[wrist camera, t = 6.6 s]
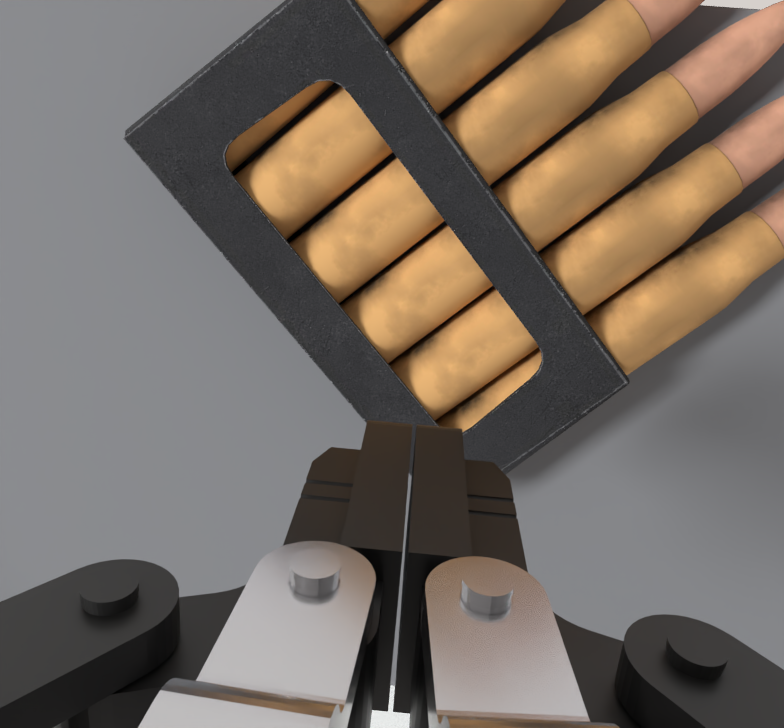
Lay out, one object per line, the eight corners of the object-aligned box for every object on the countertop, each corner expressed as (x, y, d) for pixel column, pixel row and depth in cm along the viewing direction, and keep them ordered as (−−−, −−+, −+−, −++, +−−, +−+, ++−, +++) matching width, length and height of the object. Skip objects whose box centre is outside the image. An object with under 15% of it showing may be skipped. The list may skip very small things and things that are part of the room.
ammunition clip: (444, 480, 19) (885, 181, 16) (447, 519, 17) (944, 189, 14) (151, 132, 16) (619, -290, 13) (119, 134, 14) (650, -351, 12)
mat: (1002, 31, 15) (1024, 28, 15) (783, 708, 21) (792, 724, 21) (-128, -50, 16) (-149, -56, 15) (-26, 628, 22) (-39, 642, 21)
